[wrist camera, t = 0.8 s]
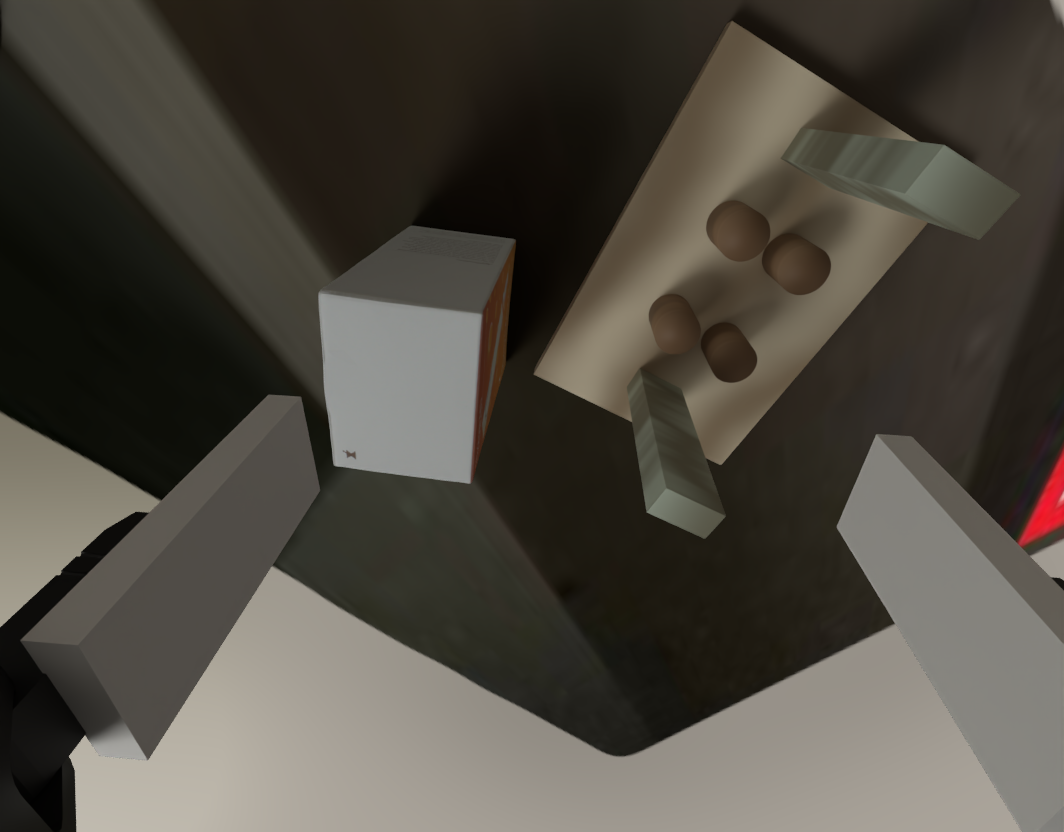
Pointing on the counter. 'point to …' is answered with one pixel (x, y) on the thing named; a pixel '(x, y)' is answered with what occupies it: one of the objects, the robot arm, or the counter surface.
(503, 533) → the counter surface
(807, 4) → the counter surface
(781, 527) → the counter surface
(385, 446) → the small box
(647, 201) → the peg stand
